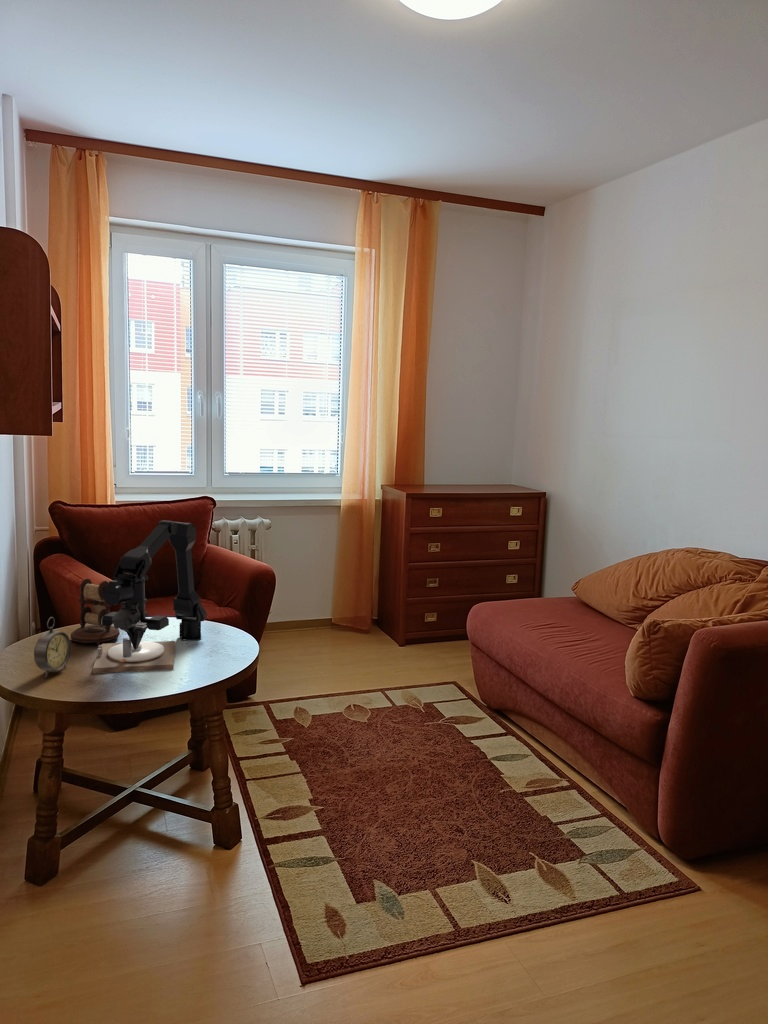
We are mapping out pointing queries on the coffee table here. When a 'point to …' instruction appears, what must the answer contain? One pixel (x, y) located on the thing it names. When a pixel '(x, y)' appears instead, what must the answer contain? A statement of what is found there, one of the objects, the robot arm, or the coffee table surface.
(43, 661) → the alarm clock
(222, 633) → the coffee table surface
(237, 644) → the coffee table surface
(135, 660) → the dial
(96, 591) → the wooden thread spool stand
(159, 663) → the stand plate
